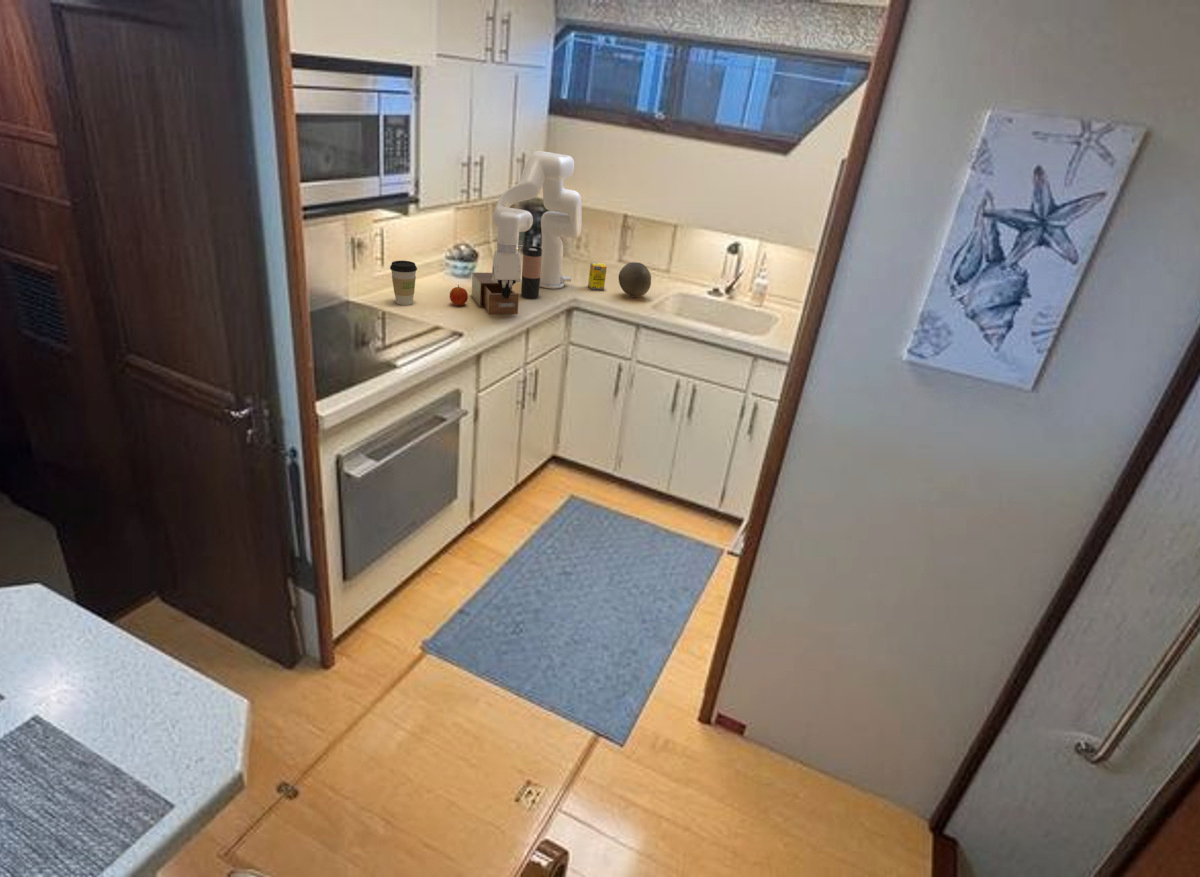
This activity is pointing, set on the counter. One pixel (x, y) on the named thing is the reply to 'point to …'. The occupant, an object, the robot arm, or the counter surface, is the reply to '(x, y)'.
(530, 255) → the travel mug
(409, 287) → the coffee cup
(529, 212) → the robot arm
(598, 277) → the supplement box
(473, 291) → the cabinet
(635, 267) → the dark grey ball
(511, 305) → the drawer
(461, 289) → the fruit
